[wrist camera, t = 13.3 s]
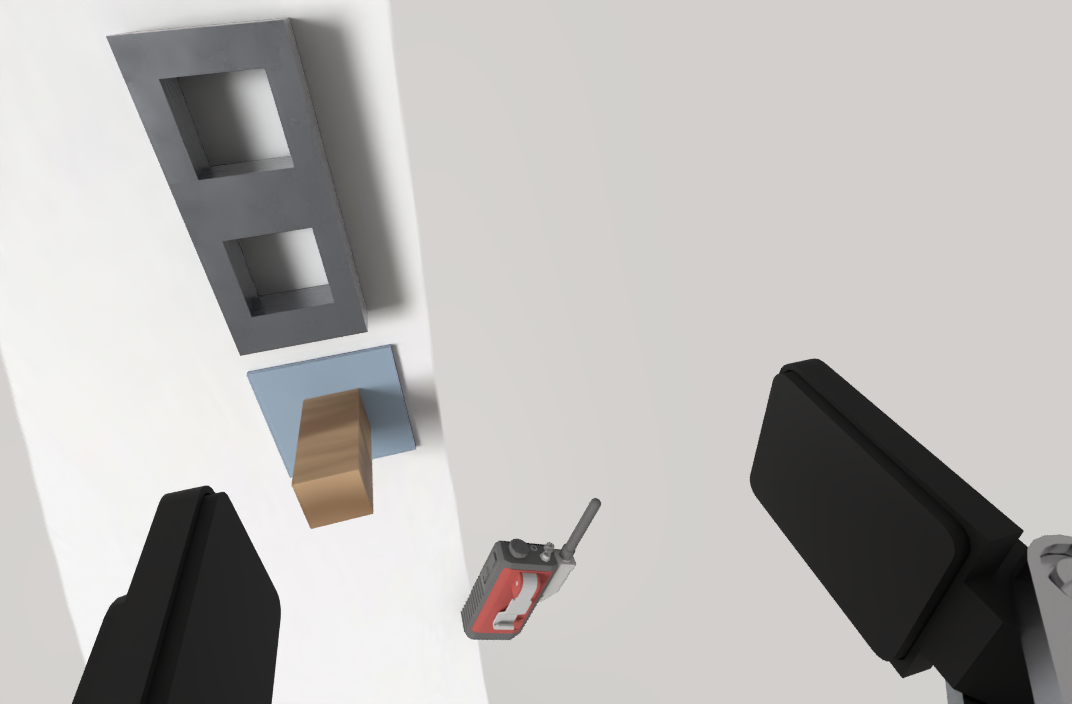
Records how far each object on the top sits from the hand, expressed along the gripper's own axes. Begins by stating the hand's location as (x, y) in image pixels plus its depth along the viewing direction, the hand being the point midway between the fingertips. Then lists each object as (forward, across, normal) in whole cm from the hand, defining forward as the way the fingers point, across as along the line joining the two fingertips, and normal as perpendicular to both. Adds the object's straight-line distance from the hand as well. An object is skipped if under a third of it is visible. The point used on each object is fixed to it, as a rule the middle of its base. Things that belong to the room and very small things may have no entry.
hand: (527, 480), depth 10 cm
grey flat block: (+31, +9, +4) cm, 32 cm away
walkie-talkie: (+30, -5, +44) cm, 53 cm away
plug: (+30, +8, +21) cm, 37 cm away
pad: (+30, +8, +21) cm, 38 cm away
